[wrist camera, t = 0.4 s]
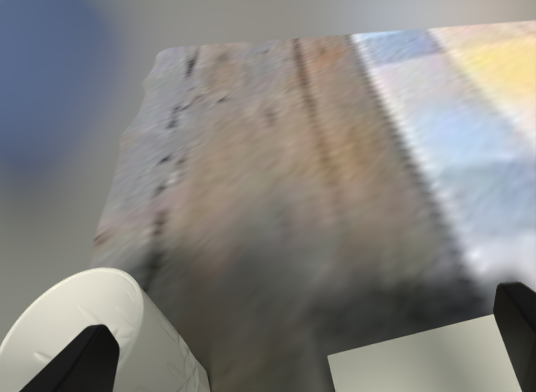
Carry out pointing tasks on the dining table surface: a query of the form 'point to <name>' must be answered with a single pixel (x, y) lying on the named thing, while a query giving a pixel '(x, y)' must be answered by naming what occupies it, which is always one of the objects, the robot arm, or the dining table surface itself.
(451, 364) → the socket plate
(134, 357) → the white cup
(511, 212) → the dining table surface
